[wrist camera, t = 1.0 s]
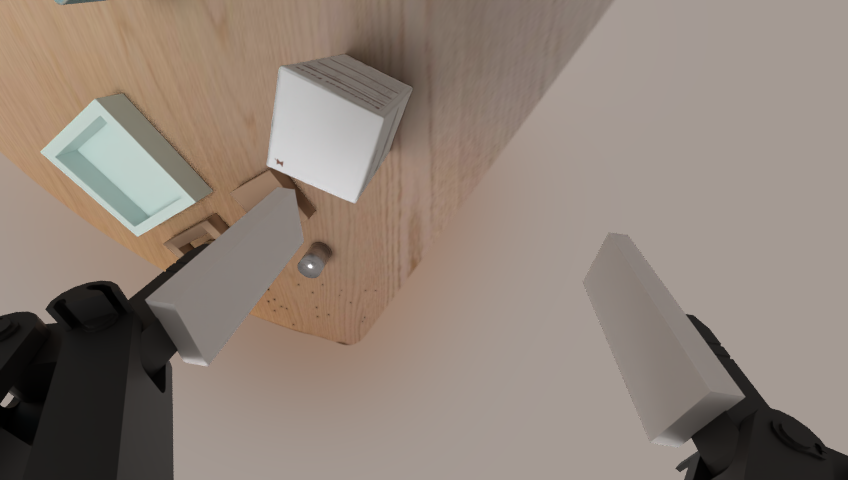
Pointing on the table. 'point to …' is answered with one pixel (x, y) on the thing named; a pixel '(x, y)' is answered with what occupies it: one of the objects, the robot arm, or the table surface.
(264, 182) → the square wooden coaster
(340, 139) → the supplement box
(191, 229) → the socket block
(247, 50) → the table surface
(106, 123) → the tray
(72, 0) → the flower pot
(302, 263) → the bench dog
